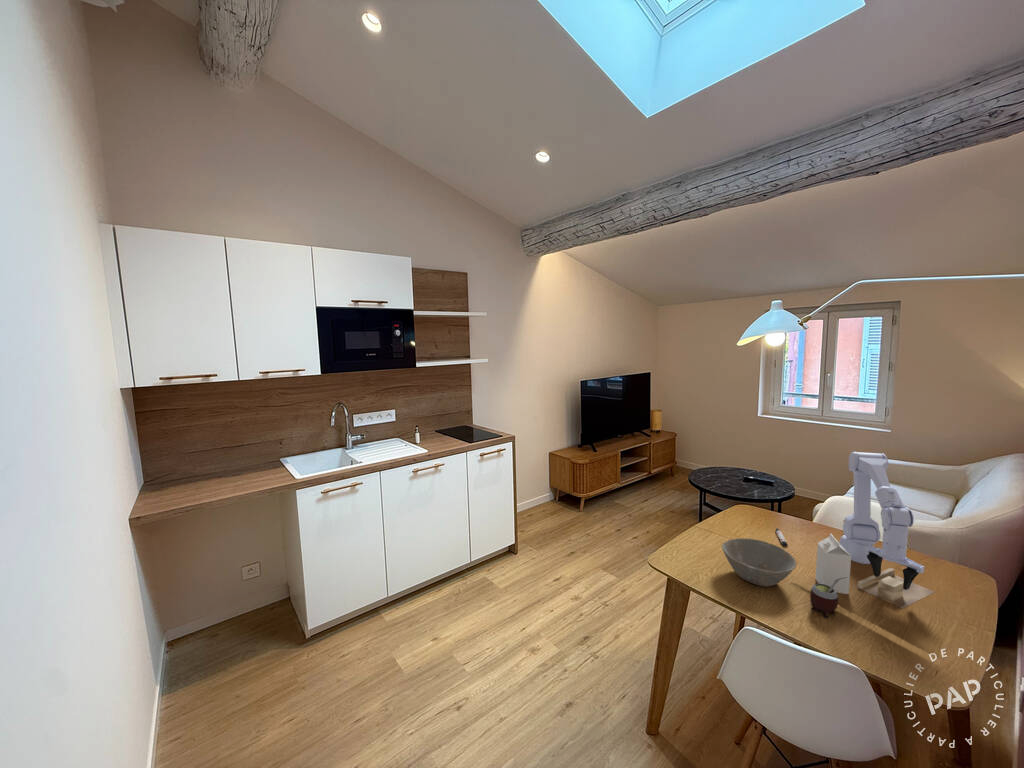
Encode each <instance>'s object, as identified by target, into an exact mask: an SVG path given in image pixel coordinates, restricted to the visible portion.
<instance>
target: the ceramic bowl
mask: <svg viewBox="0 0 1024 768" xmlns="http://www.w3.org/2000/svg"><path fill="white" fill-rule="evenodd" d="M721 549H722V551H723V554H724V555H725V557H726V560H727V562H728V563H729V565H730V566H731V567H732V569H733V571H734V573H736V574H737V576H738V577H739V578H741V579H742V580H744V581H746V582H749V583H750V584H751V583H752V584H754V585H757V586H760V587H765V588H767V587H771V586H775V585H778V584H779V583H780V582H781V581H783V580H784V579H786V578H787V577H788V576H789V575H790V574H792V572H793V571H794V570H795V568H796V567H797V560H796V559H795V558H794V556H792V554H790V553H789V552H788V551H787V550H785V549H784V548H782V547H780V546H778V545H775V544H772V543H769V542H767V541H764V540H760V539H759V540H758V539H753V538H742V537H741V538H731V539H729V540H726V541H725V542H723V543H722V544H721Z"/></svg>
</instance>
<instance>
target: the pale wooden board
mask: <svg viewBox="0 0 1024 768" xmlns="http://www.w3.org/2000/svg"><path fill="white" fill-rule="evenodd" d="M895 571H896V569H894V568H893V567H889V568H887V569H884V570H883V571H882V570H881V574H880V576H878V577H875V576H874V574H873V575H870V576H868V577H865V578H863V579H861V580H859V581H857V585H856V587H857V589H860V590H862V591H864V592H866V593H868V594H869V595H872V596H874V597H876V598H878V599H881V600H883V601H884V602H887V603H889V604H891V605H893V606H896V607H897V608H899V609H902V610H903V609H905V608H907V607H909V606H910V605H912V604H914V603H916V602H918V601H921V600H922V599H924V598H926V597H928V596H930V595H932V594H935V591H934V590H932V589H929V588H927V587H924V586H921V585H919V584H917V583H914V582H913V581H912V583H911V585H910V588H909V589H907V590H905V589H903V597H901V598H899V599H897V600H895V601H893V602H892V601H890V600H888V599H886V598H884V597H882V596H879V595H878V582H879V580H881V579H883V578H886V577H888V576H890V577H892V578H895V579H897V580H899V581H902V582H904V577H901V576H899V575H896V574H895Z"/></svg>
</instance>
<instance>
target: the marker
mask: <svg viewBox="0 0 1024 768" xmlns="http://www.w3.org/2000/svg"><path fill="white" fill-rule="evenodd" d="M775 533H776V535H777V537H779V538H778V539H780V540H779V541H780V543H781V545H782V547H785V546H786V547H785V548H787V547H788V546H789V544H788V543H787V540H786V538H785V536H784V535H783V532H782V531H781V529H779V528H775Z"/></svg>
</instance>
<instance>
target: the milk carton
mask: <svg viewBox="0 0 1024 768" xmlns="http://www.w3.org/2000/svg"><path fill="white" fill-rule="evenodd" d="M816 548H817V549H816V563H815V564H816V565H815V566H816V567H815V580H816V582H817V584H825V585H828V586H830V587H831V586H832V585H833V583H834V580H835V579H837V578H841V577H847V578H845V579H841V580H839V581H838V582H837V583H836V584H835V586H834V587H833V589H834V590H835V592H836V593H837V594H845V595H849V594H850V593H849V592H850V579H851V564H852V560H851V555H850V554H849V553H848V552H847V551H846V550H845V549H844V548H843V547H842V546H841V545H840V543H839V541H838V539H836V537H834V535H833V534H832V533H829V536H828V537H826V538H825V539H822V540H820V541H819V542H817V547H816Z"/></svg>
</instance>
